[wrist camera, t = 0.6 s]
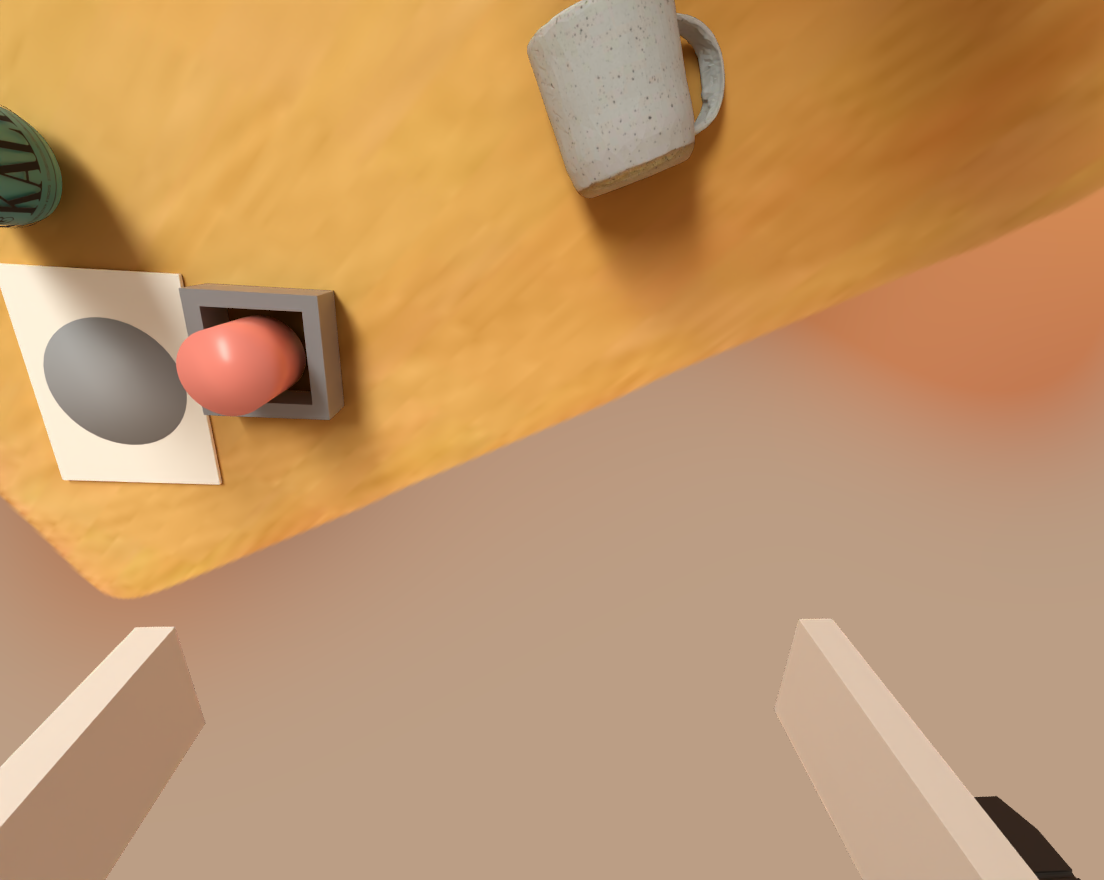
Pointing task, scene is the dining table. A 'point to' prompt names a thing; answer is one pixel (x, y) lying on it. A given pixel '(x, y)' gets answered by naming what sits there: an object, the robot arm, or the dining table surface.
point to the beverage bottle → (26, 173)
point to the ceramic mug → (623, 88)
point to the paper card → (110, 373)
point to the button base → (320, 331)
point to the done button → (240, 364)
